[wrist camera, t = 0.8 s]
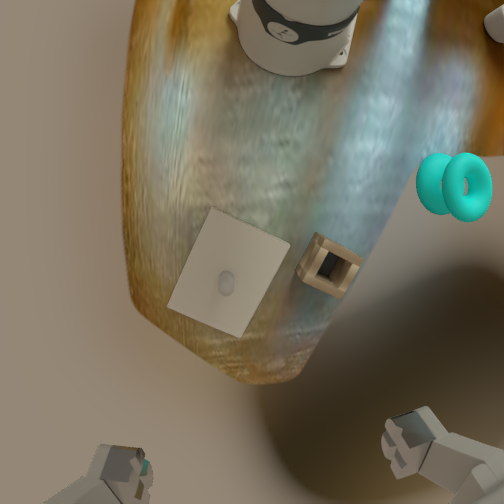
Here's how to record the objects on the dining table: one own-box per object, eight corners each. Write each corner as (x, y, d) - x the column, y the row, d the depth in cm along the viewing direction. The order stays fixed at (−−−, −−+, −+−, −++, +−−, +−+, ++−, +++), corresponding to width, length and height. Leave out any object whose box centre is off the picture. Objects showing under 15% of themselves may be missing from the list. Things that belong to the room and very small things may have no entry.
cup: (481, 1, 34) (502, -10, 27) (504, 24, 36) (526, 15, 28) (478, 29, 37) (502, 19, 29) (502, 53, 38) (526, 46, 30)
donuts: (439, 190, 34) (471, 138, 33) (402, 185, 44) (432, 141, 42) (474, 237, 36) (503, 187, 35) (437, 225, 46) (465, 182, 44)
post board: (212, 206, 43) (209, 211, 37) (288, 243, 45) (297, 253, 39) (168, 302, 46) (160, 320, 40) (239, 333, 48) (241, 354, 42)
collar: (315, 231, 45) (325, 238, 40) (351, 250, 46) (363, 259, 41) (295, 270, 46) (302, 281, 41) (330, 287, 47) (340, 299, 42)
